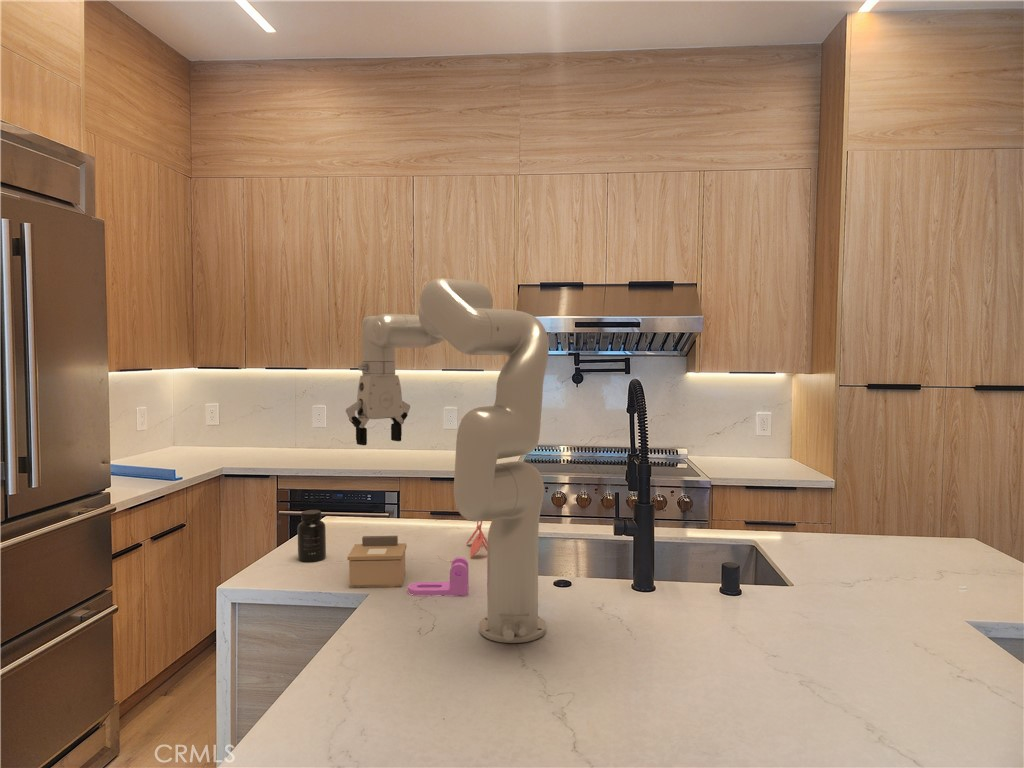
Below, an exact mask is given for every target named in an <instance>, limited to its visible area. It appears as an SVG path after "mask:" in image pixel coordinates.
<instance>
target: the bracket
mask: <svg viewBox="0 0 1024 768" xmlns="http://www.w3.org/2000/svg"><path fill="white" fill-rule="evenodd" d="M468 586H469V562H468V559H466V558H465V557H464V556H463V557H462V556H457V557H455V558H454V559H453V560H452V561H451V567H450V570H449V581H418V582H416V581H415V582H412V583H410V584H408V586H407V593H408V592H409V593H410V594H413V595H431V596H430V597H433V596H432V595H467V596H468V594H469V593H468V592H469V587H468ZM409 593H408V594H409ZM467 593H468V594H467ZM410 594H409V595H410ZM413 595H412V596H413Z"/></svg>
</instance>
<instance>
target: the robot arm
mask: <svg viewBox="0 0 1024 768" xmlns="http://www.w3.org/2000/svg"><path fill="white" fill-rule="evenodd" d="M420 293H421V294H420V298H419V306H418V311H417V314H407V313H405V314H404V313H382V314H379V315H368V316H366V317H364V318H363V320H362V321H361V334H362V335H361V338H362V339H361V342H362V345H361V346H362V349H361V351H362V352H361V353H362V359H361V360H362V362H361V364H359V365H358V368H357V369H358V370H359V371H361V372H362V375H360V377H359V381H358V386H357V395H356V402H354V403H353V404H351V405H350V406H348V407H347V408H346V409H345V413H346V415H347V416H348V421H349V422H351V424H352V425H353V427H354V428H355V441H356V445H359V446H366V445H368V438H367V437H368V429H367V427H366V425H367V423H368V422H369V420H382V419H384V420H385V419H390V420H391V421H392V423H391V424H390V440H391V441H394V442H401V441H402V436H403V435H402V431H403V430H402V429H403V426H402V425H404V423H405V421H406V419H407V417H408V416H409V415H408V414H409V412H410V409H411V405H410V404H409V403H407V402H405V401H403V395H402V394H403V392H402V387H401V381H400V377H399V375H398V374H396V349H397V348H399V349H400V348H402V349H404V348H405V349H406V348H407V349H408V348H409V349H413V348H414V349H417V348H418V349H421V348H427V347H430V346H431V347H432V346H434V345H437V344H440V343H442V342H444V341H445V340H446V341H447V342H448V343H449V344H450V345H451V346H452V347H453V348H454V349H456V350H457V351H458V352H460V353H462V354H465V355H469V356H502V355H503V356H507V357H508V359H507V360H506V362H505V363H504V365H503V366H502V367H501V370H500V372H499V374H498V377H497V380H496V381H497V382H496V389H495V392H496V393H495V394H496V395H495V401H494V404H493V405H490V406H479V407H475V408H473V409H471V410H469V411H467V413H465V414H464V416H463V417H462V418H461V419H462V421H461V420H460V423H459V426H458V428H457V432H456V433H457V434H456V444H455V460H454V461H455V463H454V475H453V476H454V480H453V495H454V497H453V498H454V503H455V506H456V509H457V511H458V513H459V514H460V516H461V517H462V518H464V519H465V520H467V521H469V522H476V523H477V522H478V523H479V522H481V521H482V522H484V521H489V520H491V523H490V525H489V527H488V533H487V538H488V539H486V540H487V544H486V546H487V551H486V553H487V554H486V555H487V557H486V558H487V561H486V565H487V566H486V567H487V568H486V569H487V570H486V573H487V576H486V577H487V579H486V580H487V583H486V584H487V587H486V589H487V591H486V592H487V593H486V594H487V596H486V597H487V599H486V600H487V601H486V602H487V606H486V607H487V609H486V611H487V612H486V613H487V614H486V615H487V616H485V617H484V618H482V619H481V620H480V621H479V624H478V627H479V628H478V630H479V631H478V632H479V633H480V635H481V636H483V637H484V638H486V639H488V640H490V641H494V642H498V643H504V644H521V643H527V642H531V641H532V642H533V641H535V640H538V639H539V638H542V637H543V636H544V635H545V634H546V632H547V623H546V621H545V619H543V618H542V617H540V616H539V529H540V527H539V526H540V517H541V511H542V506H543V502H544V495H545V494H544V493H545V486H544V485H545V484H544V479H543V476H542V475H541V472H540V471H539V470H538V468H537V467H536V466H534V465H532V464H530V463H528V462H526V461H525V462H524V461H516V460H515V461H507V462H500V463H497V462H498V461H497V460H501V459H508V458H515V457H520V456H525V455H528V454H531V453H532V452H533V451H534V450H535V449H536V448H537V447H538V444H539V440H540V433H541V424H542V423H541V422H542V410H543V408H542V407H543V395H544V394H543V390H544V380H545V374H546V371H547V370H546V369H547V364H548V359H549V351H550V341H549V336H548V333H547V331H546V328H545V326H544V325H543V323H542V322H541V321H540V320H539V319H538V318H537V317H536V316H534V315H532V314H530V313H528V312H525V311H520V310H515V309H508V308H507V309H502V308H493V307H494V299H493V298H494V297H493V295H492V293H491V291H490V289H488V287H486V285H484V284H482V283H480V282H477V281H474V280H468V279H456V278H455V279H454V278H445V277H444V278H443V277H440V278H434V279H433V280H430V281H429V282H428V283H426V285H425V286H424V287H423V289H422V291H421V292H420ZM356 413H357V414H356ZM356 415H357V416H356Z"/></svg>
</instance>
